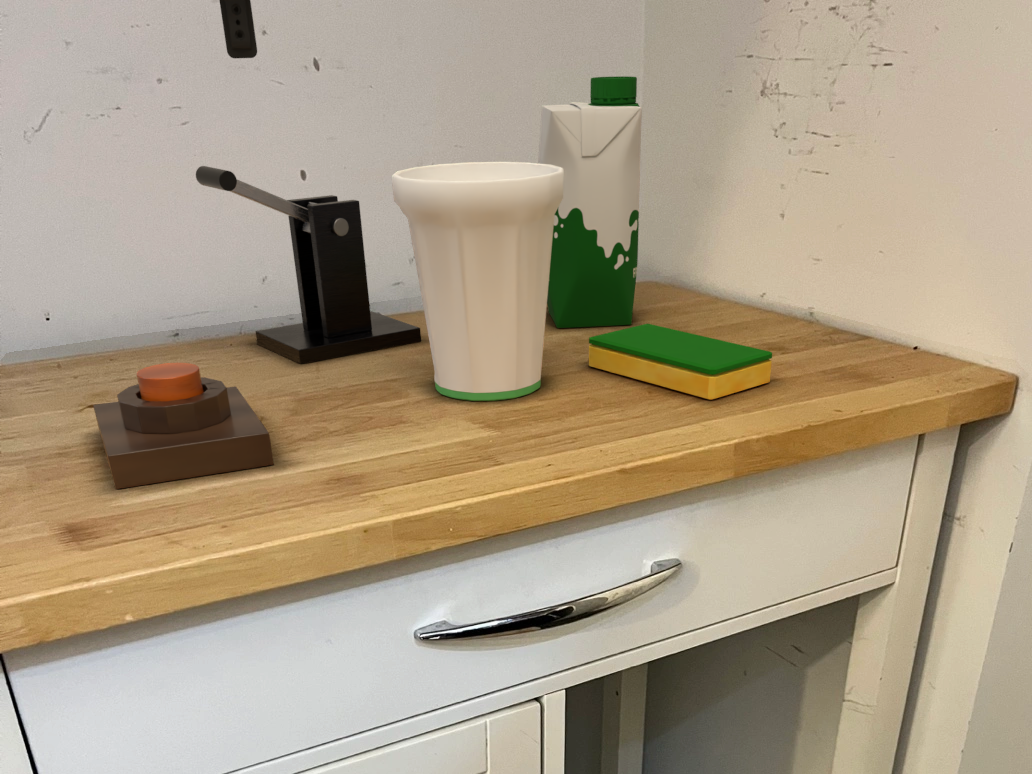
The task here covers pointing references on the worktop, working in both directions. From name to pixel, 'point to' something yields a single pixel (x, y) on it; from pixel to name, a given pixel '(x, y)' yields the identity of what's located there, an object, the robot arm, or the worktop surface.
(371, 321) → the bracket
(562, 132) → the milk carton
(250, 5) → the robot arm
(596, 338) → the dish sponge
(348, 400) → the worktop surface
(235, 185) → the lever
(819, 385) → the worktop surface
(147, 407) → the button box
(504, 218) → the cup
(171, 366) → the button
